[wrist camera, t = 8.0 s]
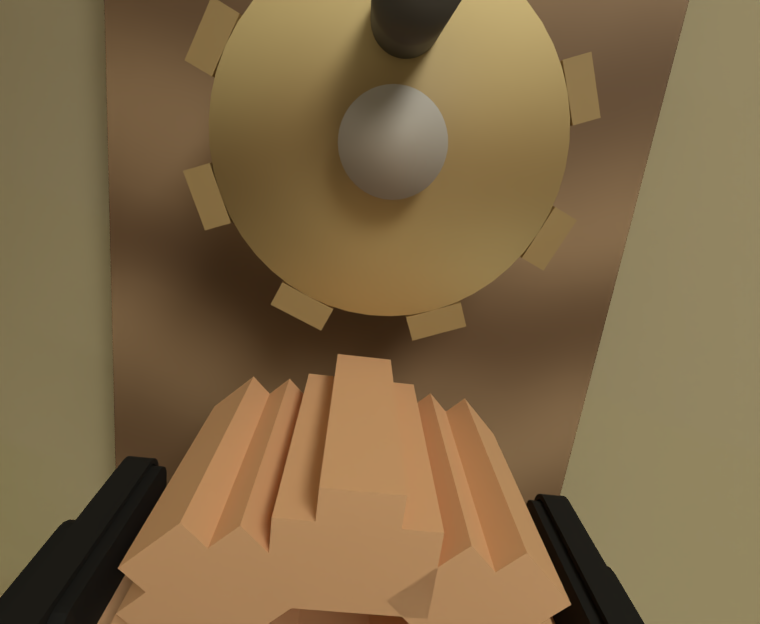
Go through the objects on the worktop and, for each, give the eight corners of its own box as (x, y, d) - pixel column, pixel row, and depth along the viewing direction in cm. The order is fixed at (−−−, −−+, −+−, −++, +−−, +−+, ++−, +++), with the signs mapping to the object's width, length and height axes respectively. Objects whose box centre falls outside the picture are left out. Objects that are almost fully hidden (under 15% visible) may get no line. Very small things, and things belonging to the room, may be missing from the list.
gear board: (129, -148, 13) (-262, -647, 5) (675, -61, 14) (1112, -361, 6) (137, 528, 19) (-37, 815, 11) (521, 561, 19) (631, 849, 11)
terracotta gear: (182, 337, 11) (56, 464, 6) (539, 375, 11) (650, 518, 7) (176, 623, 13) (79, 864, 8) (476, 646, 13) (530, 886, 9)
